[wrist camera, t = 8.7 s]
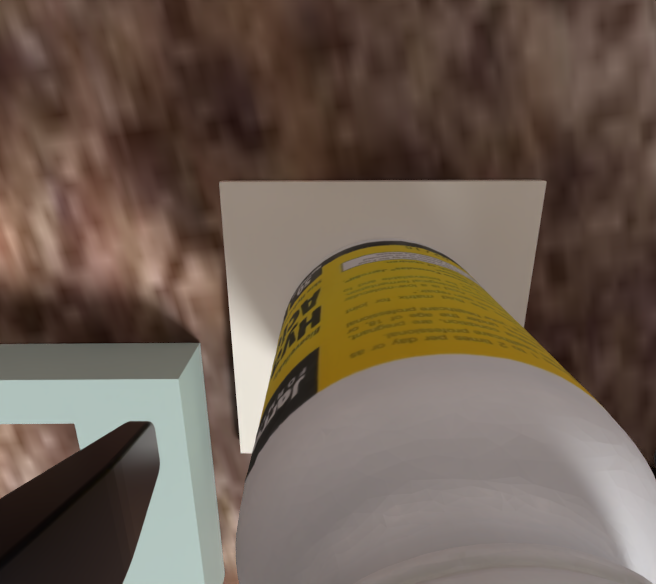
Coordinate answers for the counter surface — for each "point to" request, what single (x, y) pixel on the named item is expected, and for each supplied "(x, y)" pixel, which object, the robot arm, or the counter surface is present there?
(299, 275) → the white square tile
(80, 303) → the counter surface
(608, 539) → the supplement bottle
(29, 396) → the holder block
